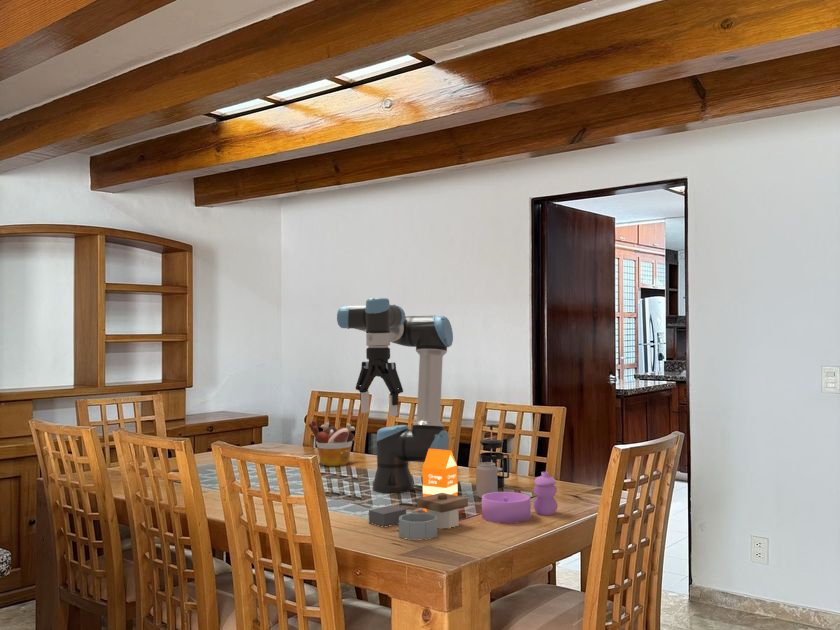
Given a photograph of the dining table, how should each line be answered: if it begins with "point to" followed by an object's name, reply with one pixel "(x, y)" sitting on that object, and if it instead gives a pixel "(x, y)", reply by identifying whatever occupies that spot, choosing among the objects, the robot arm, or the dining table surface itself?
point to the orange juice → (439, 473)
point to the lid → (442, 502)
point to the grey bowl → (418, 526)
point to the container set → (520, 502)
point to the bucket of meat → (333, 443)
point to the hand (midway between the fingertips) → (379, 414)
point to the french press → (495, 456)
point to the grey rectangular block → (386, 515)
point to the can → (486, 478)
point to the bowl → (446, 518)
